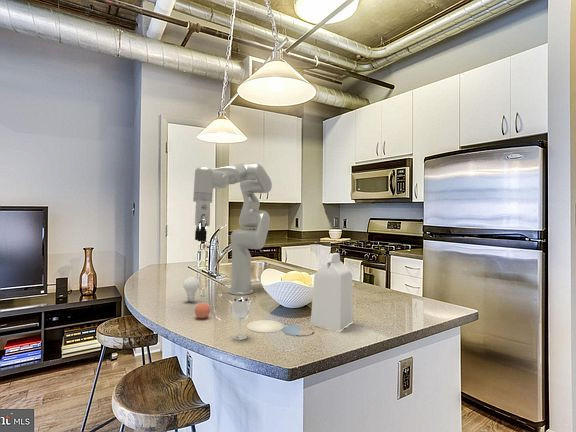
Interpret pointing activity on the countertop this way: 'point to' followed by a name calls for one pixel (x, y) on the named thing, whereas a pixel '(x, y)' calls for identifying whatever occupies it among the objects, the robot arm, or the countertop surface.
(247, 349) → the countertop surface
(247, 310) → the wineglass
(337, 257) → the milk
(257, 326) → the disc
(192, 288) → the light bulb
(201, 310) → the ball
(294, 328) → the disc
